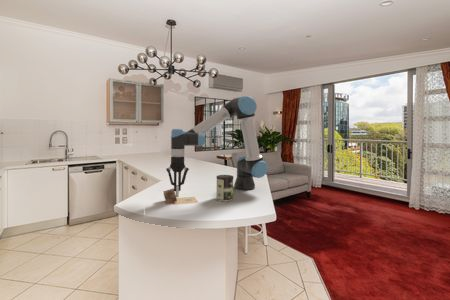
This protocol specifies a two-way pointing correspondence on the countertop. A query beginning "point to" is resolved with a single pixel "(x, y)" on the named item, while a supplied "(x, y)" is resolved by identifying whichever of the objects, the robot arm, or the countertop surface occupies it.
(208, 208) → the countertop surface
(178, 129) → the robot arm
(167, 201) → the walnut block
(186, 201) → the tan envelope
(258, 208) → the countertop surface
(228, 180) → the coffee can
